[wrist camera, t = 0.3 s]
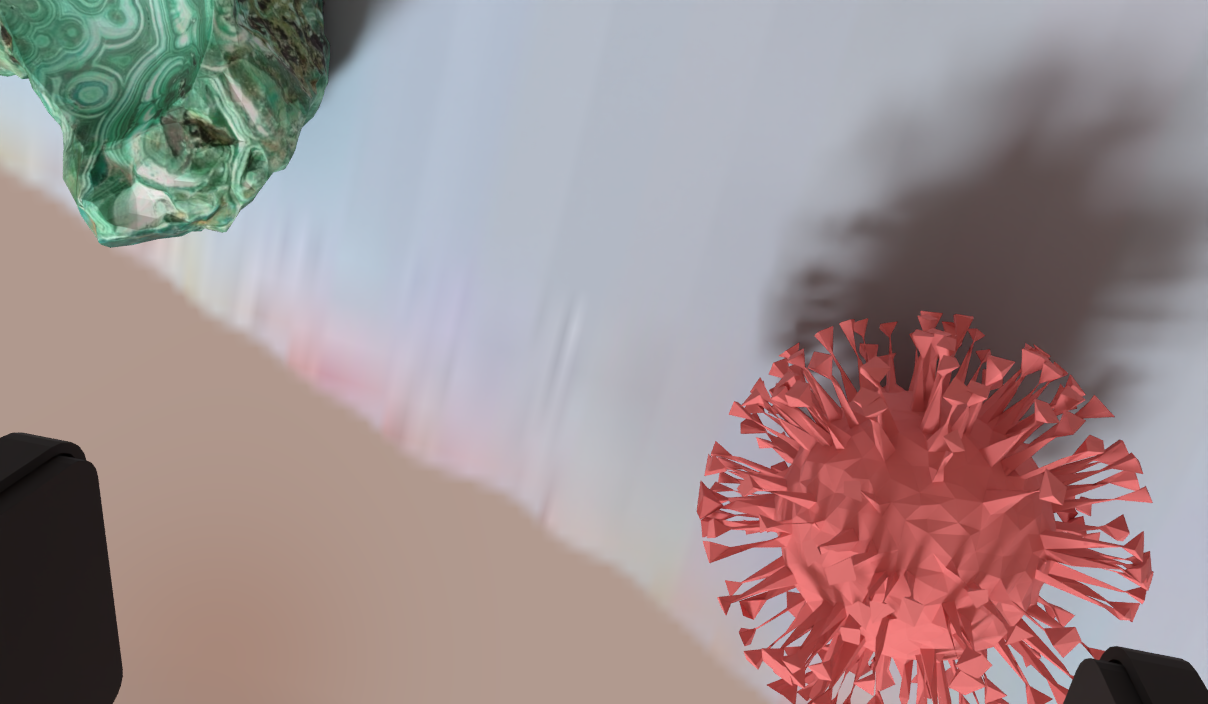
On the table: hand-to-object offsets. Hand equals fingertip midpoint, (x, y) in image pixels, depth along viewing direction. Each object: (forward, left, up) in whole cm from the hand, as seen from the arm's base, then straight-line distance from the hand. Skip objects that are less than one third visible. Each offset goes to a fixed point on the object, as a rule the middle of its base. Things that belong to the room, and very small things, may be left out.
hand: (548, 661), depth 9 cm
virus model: (+11, +9, -30) cm, 33 cm away
